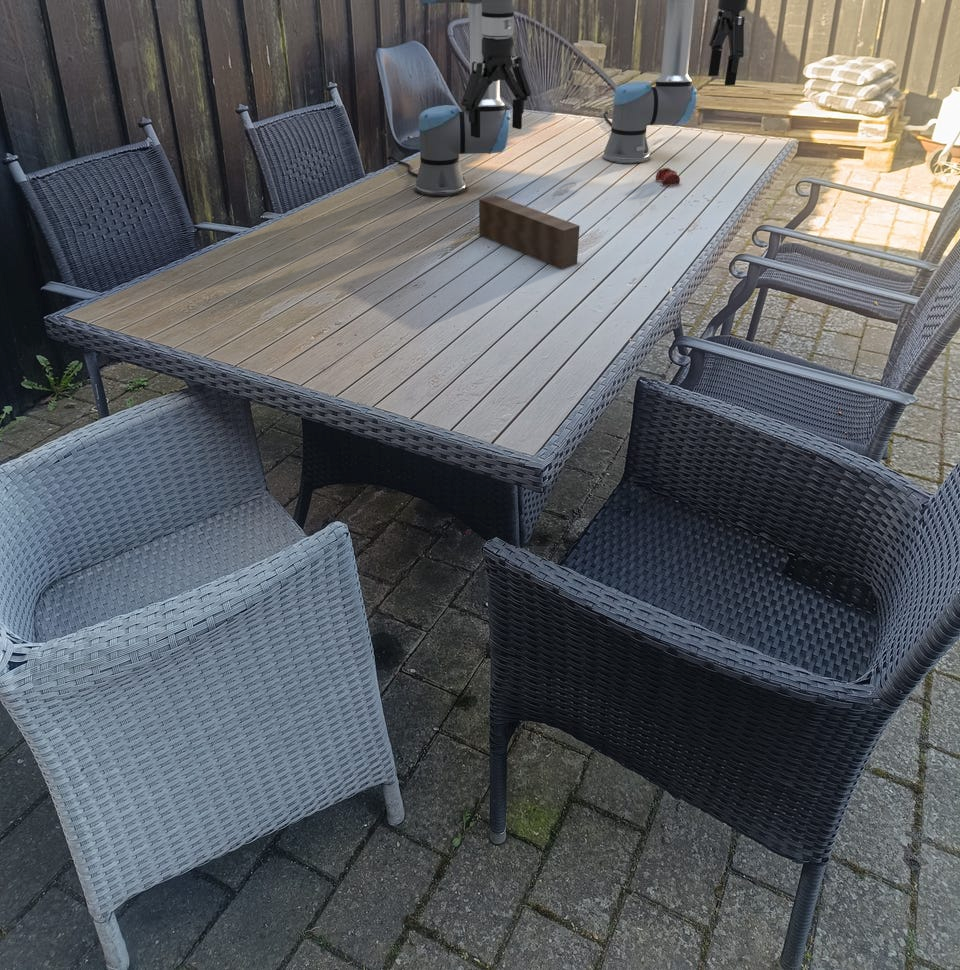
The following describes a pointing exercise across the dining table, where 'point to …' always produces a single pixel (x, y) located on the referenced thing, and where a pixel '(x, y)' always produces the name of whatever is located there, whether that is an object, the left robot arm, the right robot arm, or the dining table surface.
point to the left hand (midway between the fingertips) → (496, 132)
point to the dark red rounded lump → (668, 176)
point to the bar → (529, 231)
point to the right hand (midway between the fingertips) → (721, 80)
